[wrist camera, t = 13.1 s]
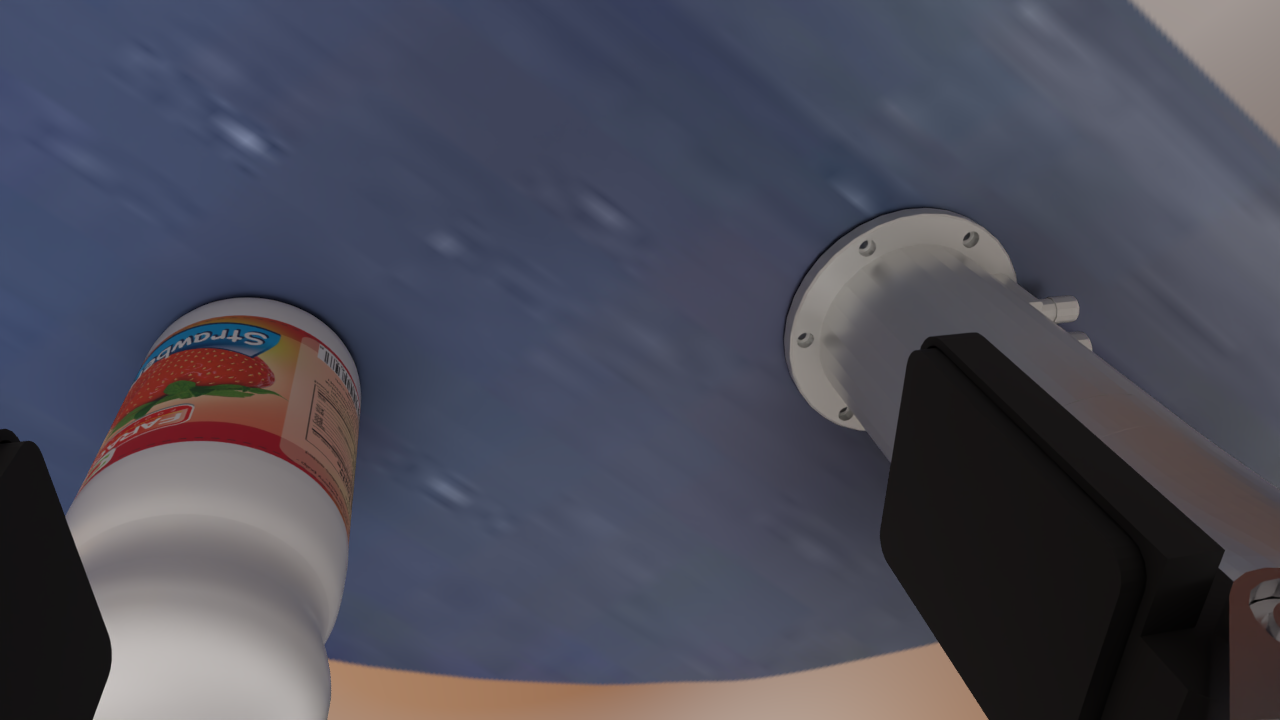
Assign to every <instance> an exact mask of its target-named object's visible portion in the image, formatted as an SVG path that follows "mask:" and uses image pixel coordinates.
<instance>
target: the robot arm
mask: <svg viewBox="0 0 1280 720" xmlns="http://www.w3.org/2000/svg"><path fill="white" fill-rule="evenodd" d="M863 242H864V243H863ZM862 243H863V244H862ZM861 244H862V245H861ZM1078 315H1079V304H1078V301H1077V300H1076V298H1075V297H1074V296H1071V295H1066V296H1056V297H1047V298H1046V299H1037V298H1036V297H1034V296H1033V295H1032V294H1030V293H1029V292H1028V291H1026V290H1025V289H1024V288H1022V287H1021V286H1020V285H1018V284H1017V279H1016V273H1015V270H1014V268H1013V265H1012V262H1011V260H1010V257H1009V255H1008V254H1007V252H1006V251H1005V249H1004V248H1003V246H1002V245H1001V243H1000V242H999V241H998V240H997V239H996V238H995V237H994V236H993V235H992V234H990V233H989V232H988V231H987V230H986V229H985V228H983V227H982V226H980V225H979V224H977V223H975V222H974V221H972V220H971V219H969V218H968V217H965V216H962V215H960V214H957V213H954V212H951V211H949V210H941V209H933V208H917V209H904V210H901V211H897V212H893V213H889V214H886V215H882V216H880V217H877V218H875V219H873V220H871V221H869V222H867V223H864V224H862V225H860V226H858V227H857V228H855V229H854V230H852V231H851V232H849V233H848V234H846V235H845V236H843V237H842V238H840V239H839V240H838V241H837V242H836V243H835V244H834V245H832V246H831V247H830V248H829V249H828V250H827V251H826V252H825V253H824V254H823V255H822V256H821V257H820V258H819V259H818V260H817V262H816V263H815V264H814V266H813V267H812V268H811V269H810V271H809V272H808V273H807V275H806V276H805V278H804V279H803V281H802V283H801V285H800V287H799V289H798V290H797V292H796V294H795V296H794V298H793V301H792V304H791V307H790V310H789V313H788V316H787V321H786V329H785V336H784V345H785V359H786V362H787V365H788V369H789V372H790V375H791V378H792V379H793V381H794V383H795V385H796V386H797V388H798V390H799V391H800V393H801V394H802V396H803V397H804V398H805V399H806V401H807V402H808V403H809V405H810V406H811V407H812V408H813V409H814V410H816V411H817V412H818V413H819V414H821V415H822V416H823V417H824V418H826V419H828V420H830V421H831V422H833V423H835V424H837V425H840V426H843V427H847V428H851V429H855V430H859V431H867V433H868V434H869V435H870V437H871V438H872V439H873V441H874V442H875V443H876V444H877V446H878V447H879V448H880V450H881V451H882V452H883V454H884V455H885V456H886V458H887V459H888V460H889V462H890V463H891V466H890V472H889V479H888V485H887V491H886V498H885V504H884V510H883V516H882V523H881V529H880V541H881V547H882V551H883V554H884V557H885V559H886V561H887V563H888V565H889V566H890V568H891V569H892V571H893V572H894V574H895V575H896V577H897V579H898V580H899V582H900V583H901V585H902V586H903V588H904V589H905V591H906V592H907V594H908V596H909V597H910V599H911V600H912V602H913V603H914V605H915V606H916V608H917V609H918V611H919V613H920V614H921V616H922V617H923V619H924V620H925V622H926V623H927V625H928V626H929V628H930V630H931V631H932V633H933V634H934V636H935V637H936V639H937V640H938V642H939V643H940V645H941V647H942V648H943V650H944V651H945V653H946V654H947V656H948V657H949V659H950V660H951V662H952V663H953V665H954V667H955V668H956V670H957V671H958V673H959V674H960V676H961V677H962V679H963V680H964V682H965V684H966V685H967V687H968V688H969V690H970V691H971V693H972V694H973V696H974V697H975V699H976V700H977V702H978V704H979V705H980V707H981V708H982V710H983V711H984V713H985V715H986V716H987V718H988V719H989V720H1280V489H1278V488H1277V487H1275V486H1273V485H1272V484H1270V483H1269V482H1268V481H1266V480H1265V479H1263V478H1262V477H1260V476H1259V475H1258V474H1256V473H1255V472H1253V471H1252V470H1251V469H1249V468H1248V467H1246V466H1245V465H1243V464H1242V463H1241V462H1239V461H1238V460H1236V459H1235V458H1234V457H1232V456H1231V455H1229V454H1228V453H1226V452H1225V451H1224V450H1222V449H1221V448H1219V447H1218V446H1217V445H1215V444H1214V443H1212V442H1211V441H1209V440H1208V439H1207V438H1205V437H1204V436H1203V435H1201V434H1200V433H1199V432H1197V431H1196V430H1195V429H1193V428H1192V427H1191V426H1189V425H1188V424H1187V423H1185V422H1184V421H1183V420H1181V419H1180V418H1179V417H1178V416H1176V415H1175V414H1174V413H1172V412H1171V411H1170V410H1168V409H1167V408H1166V407H1164V406H1163V405H1162V404H1160V403H1159V402H1158V401H1156V400H1155V399H1154V398H1153V397H1151V396H1150V395H1149V394H1147V393H1146V392H1145V391H1143V390H1142V389H1141V388H1139V387H1138V386H1137V385H1135V384H1134V383H1133V382H1132V381H1130V380H1129V379H1128V378H1126V377H1125V376H1124V375H1122V374H1121V373H1120V372H1118V371H1117V370H1116V369H1115V368H1113V367H1112V366H1111V365H1109V364H1108V363H1107V362H1105V361H1104V360H1103V359H1101V358H1100V357H1099V356H1098V355H1096V354H1095V353H1094V352H1092V345H1091V342H1090V339H1089V338H1088V337H1087V335H1086V334H1085V333H1083V332H1080V331H1076V332H1066V331H1065V330H1064V329H1062V328H1061V327H1060V326H1058V325H1057V323H1066V322H1073V321H1075V320H1076V319H1077V317H1078ZM111 663H112V648H111V641H110V637H109V634H108V631H107V629H106V626H105V623H104V620H103V618H102V615H101V612H100V610H99V607H98V604H97V602H96V599H95V596H94V593H93V591H92V588H91V585H90V583H89V580H88V577H87V575H86V572H85V569H84V566H83V564H82V561H81V558H80V556H79V553H78V550H77V548H76V545H75V542H74V539H73V537H72V534H71V531H70V529H69V526H68V523H67V520H66V518H65V515H64V512H63V510H62V507H61V504H60V502H59V499H58V496H57V493H56V491H55V488H54V485H53V483H52V480H51V477H50V475H49V472H48V469H47V466H46V464H45V461H44V458H43V456H42V453H41V451H40V449H39V447H38V446H37V445H36V444H35V443H34V442H31V441H23V442H20V441H19V439H18V437H17V436H16V435H15V434H14V433H13V432H12V431H10V430H7V429H0V720H93V718H94V715H95V712H96V710H97V707H98V704H99V701H100V699H101V696H102V693H103V690H104V688H105V685H106V682H107V679H108V677H109V673H110V670H111Z"/></svg>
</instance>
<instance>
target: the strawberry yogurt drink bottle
mask: <svg viewBox="0 0 1280 720" xmlns="http://www.w3.org/2000/svg"><path fill="white" fill-rule="evenodd" d="M360 409H361V388H360V382H359V376H358V372H357V369H356V366H355V363H354V361H353V359H352V357H351V355H350V353H349V351H348V350H347V348H346V346H345V345H344V343H343V342H342V341H341V339H340V338H339V337H338V336H337V335H336V334H335V333H334V332H333V331H332V330H331V329H330V328H329V327H328V326H327V325H326V324H324V323H323V322H322V321H320V320H319V319H318V318H316V317H314V316H313V315H311V314H309V313H308V312H306V311H304V310H302V309H299V308H297V307H295V306H292V305H289V304H286V303H283V302H279V301H275V300H270V299H263V298H249V297H246V298H231V299H225V300H220V301H216V302H212V303H209V304H206V305H203V306H201V307H199V308H196V309H194V310H193V311H191V312H189V313H187V314H185V315H184V316H182V317H181V318H179V319H178V320H176V321H175V322H174V323H173V324H172V325H170V326H169V327H168V328H167V329H166V330H165V331H164V333H163V334H162V335H161V336H160V337H159V338H158V339H157V341H156V342H155V343H154V345H153V346H152V348H151V349H150V351H149V353H148V355H147V356H146V358H145V360H144V362H143V364H142V366H141V368H140V370H139V372H138V374H137V376H136V378H135V380H134V382H133V384H132V386H131V388H130V390H129V392H128V394H127V396H126V398H125V400H124V402H123V404H122V406H121V408H120V410H119V412H118V414H117V416H116V418H115V420H114V422H113V424H112V426H111V428H110V430H109V432H108V434H107V436H106V438H105V440H104V442H103V444H102V446H101V448H100V450H99V452H98V454H97V456H96V458H95V460H94V462H93V464H92V466H91V468H90V470H89V472H88V474H87V476H86V478H85V480H84V482H83V484H82V486H81V488H80V490H79V492H78V494H77V496H76V498H75V499H74V501H73V503H72V505H71V507H70V508H69V510H68V512H67V514H66V516H65V518H66V520H67V523H68V526H69V529H70V531H71V534H72V537H73V539H74V542H75V545H76V548H77V550H78V553H79V556H80V558H81V561H82V564H83V566H84V569H85V572H86V575H87V577H88V580H89V583H90V585H91V588H92V591H93V593H94V596H95V599H96V602H97V604H98V607H99V610H100V612H101V615H102V618H103V620H104V623H105V626H106V629H107V631H108V634H109V637H110V641H111V648H112V663H111V670H110V673H109V677H108V679H107V682H106V685H105V688H104V690H103V693H102V696H101V699H100V701H99V704H98V707H97V710H96V712H95V715H94V718H93V720H327V717H328V711H329V706H330V700H331V679H330V678H331V677H330V669H329V663H328V658H327V653H326V649H325V646H324V644H325V642H326V641H327V639H328V637H329V635H330V633H331V631H332V629H333V626H334V624H335V621H336V618H337V615H338V612H339V608H340V604H341V600H342V595H343V590H344V585H345V579H346V573H347V565H348V549H349V534H350V523H351V512H352V500H353V489H354V478H355V467H356V455H357V444H358V432H359V421H360Z"/></svg>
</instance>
